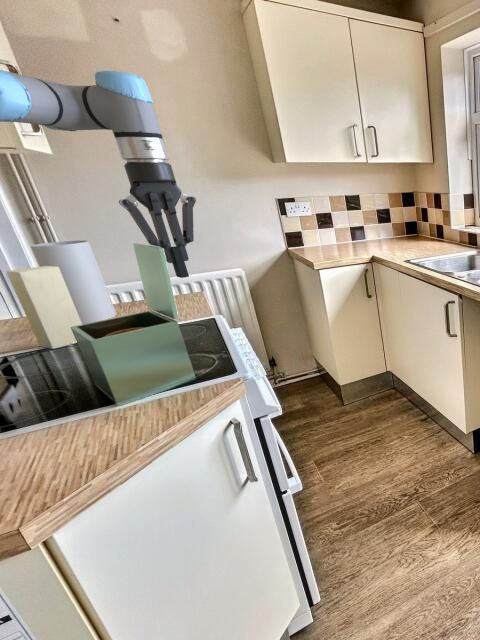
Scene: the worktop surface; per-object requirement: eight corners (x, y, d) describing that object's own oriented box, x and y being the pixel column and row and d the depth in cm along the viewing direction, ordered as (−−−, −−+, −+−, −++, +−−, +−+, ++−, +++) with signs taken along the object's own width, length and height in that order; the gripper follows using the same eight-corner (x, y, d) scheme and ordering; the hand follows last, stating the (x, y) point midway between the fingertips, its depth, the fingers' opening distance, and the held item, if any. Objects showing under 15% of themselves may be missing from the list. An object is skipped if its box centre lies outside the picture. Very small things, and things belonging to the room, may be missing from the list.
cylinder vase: (84, 328, 129) (50, 246, 120) (55, 326, 132) (19, 246, 123) (127, 316, 141) (98, 240, 132) (99, 314, 143) (69, 240, 134)
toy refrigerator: (75, 336, 123) (44, 265, 115) (89, 339, 120) (58, 266, 113) (38, 346, 116) (3, 271, 108) (53, 349, 113) (17, 272, 106)
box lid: (158, 248, 83) (163, 248, 84) (132, 243, 92) (137, 243, 92) (174, 319, 88) (179, 318, 88) (148, 308, 96) (152, 307, 97)
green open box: (118, 406, 83) (90, 341, 78) (96, 386, 91) (70, 326, 86) (196, 380, 93) (177, 321, 88) (170, 364, 102) (151, 310, 97)
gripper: (111, 160, 78) (153, 284, 87) (191, 161, 88) (222, 272, 97) (99, 162, 82) (140, 280, 91) (177, 163, 92) (208, 269, 101)
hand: (182, 276), depth 94 cm, fingers closed
